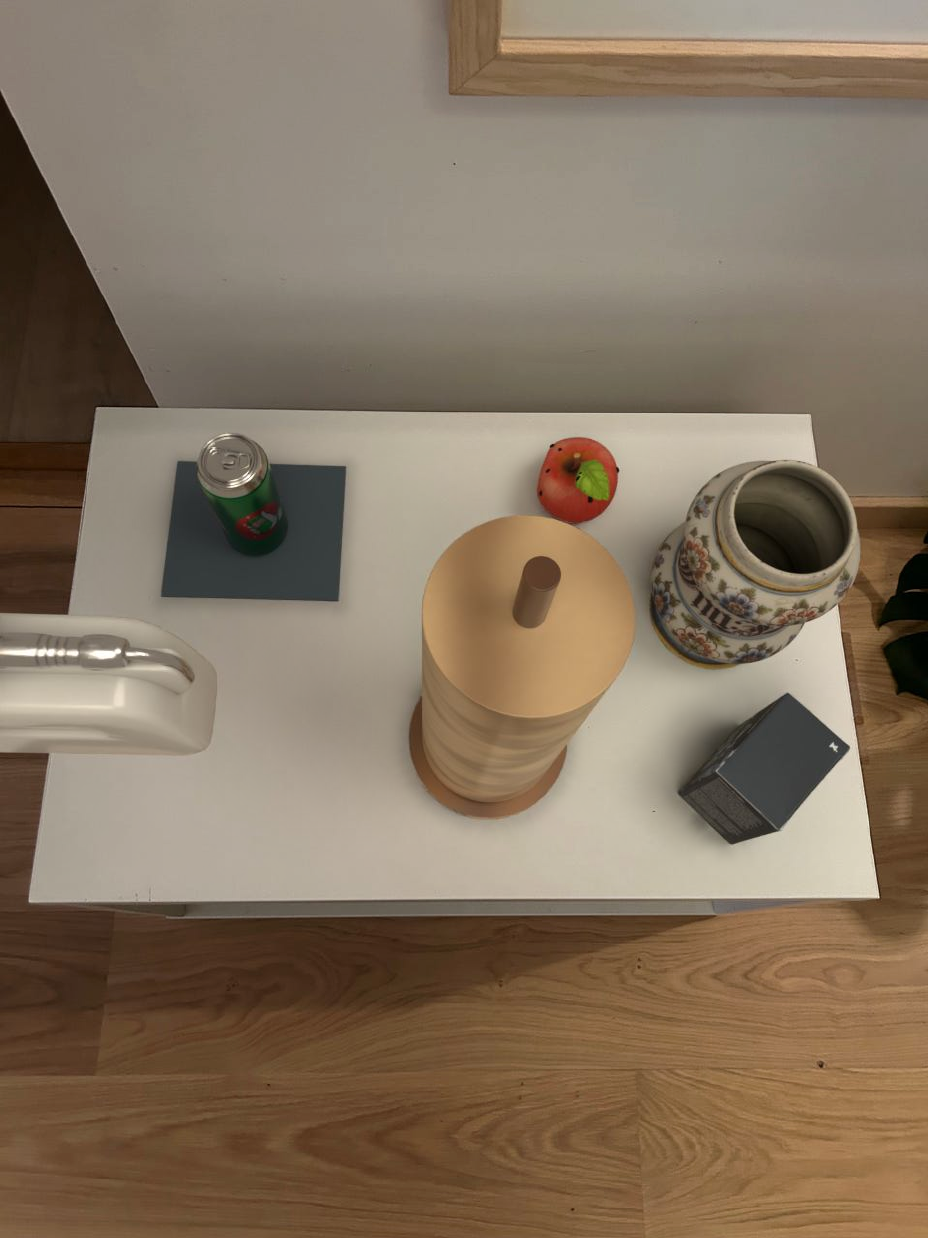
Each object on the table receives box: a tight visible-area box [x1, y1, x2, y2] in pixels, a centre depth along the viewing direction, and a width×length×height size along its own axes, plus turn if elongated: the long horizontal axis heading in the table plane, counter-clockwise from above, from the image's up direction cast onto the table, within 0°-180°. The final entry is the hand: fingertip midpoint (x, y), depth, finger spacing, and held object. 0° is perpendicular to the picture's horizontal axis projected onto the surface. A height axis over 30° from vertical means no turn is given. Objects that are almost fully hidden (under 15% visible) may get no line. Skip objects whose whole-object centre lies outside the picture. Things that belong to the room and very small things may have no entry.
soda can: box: [196, 432, 288, 556], centre depth 71 cm, size 5×5×12 cm
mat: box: [160, 460, 347, 602], centre depth 77 cm, size 14×12×1 cm
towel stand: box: [408, 514, 637, 820], centre depth 56 cm, size 12×12×35 cm
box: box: [677, 692, 851, 846], centre depth 67 cm, size 8×6×11 cm
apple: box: [536, 436, 620, 524], centre depth 74 cm, size 8×7×10 cm
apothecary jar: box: [649, 459, 861, 670], centre depth 68 cm, size 12×12×18 cm
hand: (13, 733), depth 42 cm, fingers open, 8 cm apart
